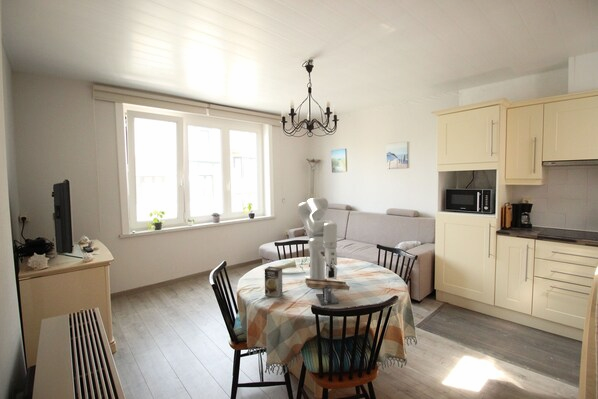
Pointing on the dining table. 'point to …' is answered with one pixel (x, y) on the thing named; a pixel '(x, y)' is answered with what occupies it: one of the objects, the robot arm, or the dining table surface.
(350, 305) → the dining table surface
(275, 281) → the coffee box
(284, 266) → the flower vase
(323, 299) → the pivot stand
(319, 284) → the beam
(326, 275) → the rider
